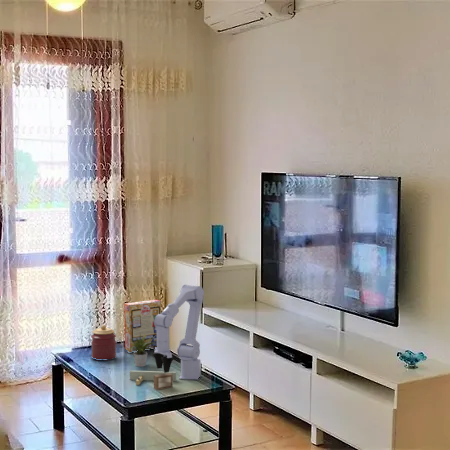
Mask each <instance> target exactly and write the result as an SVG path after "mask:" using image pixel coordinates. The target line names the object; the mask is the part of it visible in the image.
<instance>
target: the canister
mask: <svg viewBox="0 0 450 450" xmlns="http://www.w3.org/2000/svg"><path fill="white" fill-rule="evenodd" d="M100 326H101V327H99V328H98V327H97V328H96V329H95V330H93V331H92V335H91V336H90V337H91V342H90V343H91V358H92V357H93V358H96V359H112V358H114V359H116V358H117V348H116V347H117V341H116V337H117V335H116V334H115V330H114V329H113V328H110V327H107V326H106V324H102V325H100ZM115 357H116V358H115ZM112 360H113V359H112Z"/></svg>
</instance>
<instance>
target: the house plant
mask: <svg viewBox="0 0 450 450" xmlns="http://www.w3.org/2000/svg"><path fill="white" fill-rule="evenodd" d="M146 336H147V335H144V336H143V338H142V340H141V334H140V337H139V340H138V338H137V337H136V336H135V337H136V340H137V342H135V341H133V340H132V339H130V340H132V342H133V343H134V344H132V345H134V346H135V347H136V349H137V350H138V351H137V350H136V349H135V348H134V350H136V351H137V352H135V353H133V358H134V359H133V360H134V364H135V367H138V368H139V367H146V365H147V359H148V352H147V351H145V349H151V348H149V347H151V346H148V345H150V344H155V343H148V344H147V343H146V342H147V341H148V340H149V339H150V338H149V339H148V340H147V341H145V342H144V340H145V337H146ZM130 338H131V337H130ZM151 338H152V337H151ZM135 343H136V344H137V345H136V344H135ZM144 343H145V344H146V345H145V344H144ZM147 346H148V348H146V347H147ZM131 348H133V347H130V349H131ZM152 348H153V347H152ZM131 350H132V349H131Z"/></svg>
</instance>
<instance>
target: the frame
mask: <svg viewBox="0 0 450 450" xmlns="http://www.w3.org/2000/svg"><path fill="white" fill-rule="evenodd" d="M173 382H174V381H173V375H172V374H171V373H166V374H159V375H154V380H153V389H154V390H158V391H159V390H163V389H169V388H173V385H174V384H173Z"/></svg>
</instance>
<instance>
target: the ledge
mask: <svg viewBox="0 0 450 450" xmlns="http://www.w3.org/2000/svg"><path fill="white" fill-rule="evenodd" d="M166 373H171V374H172V375H173V382H176V381H177V371H169V372H166ZM166 373H165V372H164V370H163V371H161V370H160V371H157V370H156V371H155V370H152V371H151V370H129V380H130V381H133V380H134V381H135V385H136V386H140V385H141V383H142V382H143V381H154V375H159V374H166Z"/></svg>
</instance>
